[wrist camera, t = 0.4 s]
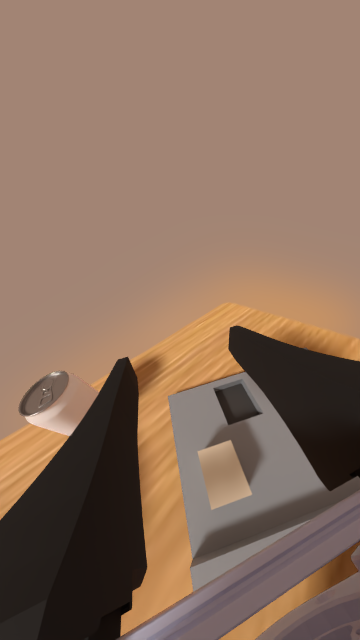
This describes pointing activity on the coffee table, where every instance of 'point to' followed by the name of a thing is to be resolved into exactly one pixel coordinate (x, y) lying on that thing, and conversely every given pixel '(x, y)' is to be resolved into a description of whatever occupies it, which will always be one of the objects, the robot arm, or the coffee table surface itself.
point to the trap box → (259, 469)
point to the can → (58, 402)
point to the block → (223, 475)
